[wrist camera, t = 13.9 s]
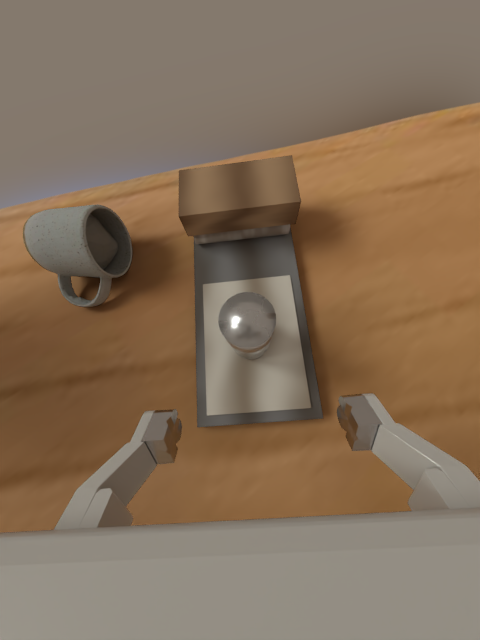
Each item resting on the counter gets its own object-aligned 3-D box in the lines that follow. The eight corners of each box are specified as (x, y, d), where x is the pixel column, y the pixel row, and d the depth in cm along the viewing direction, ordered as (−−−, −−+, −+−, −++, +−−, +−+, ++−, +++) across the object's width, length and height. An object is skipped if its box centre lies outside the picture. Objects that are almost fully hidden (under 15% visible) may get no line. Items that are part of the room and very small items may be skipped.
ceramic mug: (81, 237, 30) (23, 190, 22) (137, 236, 29) (96, 187, 22) (61, 309, 27) (-12, 283, 20) (123, 310, 26) (70, 284, 19)
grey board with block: (200, 424, 22) (177, 442, 15) (195, 216, 29) (179, 170, 23) (319, 416, 21) (346, 431, 15) (284, 205, 28) (291, 155, 22)
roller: (232, 361, 22) (219, 350, 14) (230, 323, 23) (216, 294, 15) (271, 357, 22) (279, 344, 14) (267, 320, 23) (272, 289, 15)
